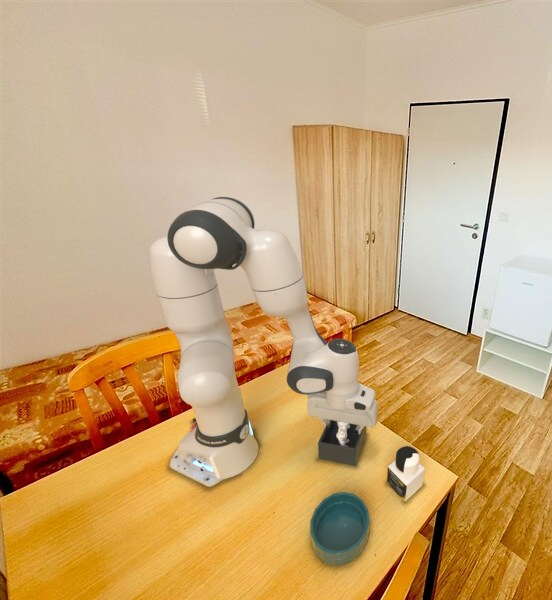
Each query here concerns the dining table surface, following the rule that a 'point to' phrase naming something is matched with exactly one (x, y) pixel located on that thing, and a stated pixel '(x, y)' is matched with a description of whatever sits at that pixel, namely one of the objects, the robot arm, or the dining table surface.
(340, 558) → the bowl
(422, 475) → the medicine bottle
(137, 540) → the dining table surface
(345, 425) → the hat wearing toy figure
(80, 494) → the dining table surface
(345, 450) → the bin
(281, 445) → the dining table surface
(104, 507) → the dining table surface
